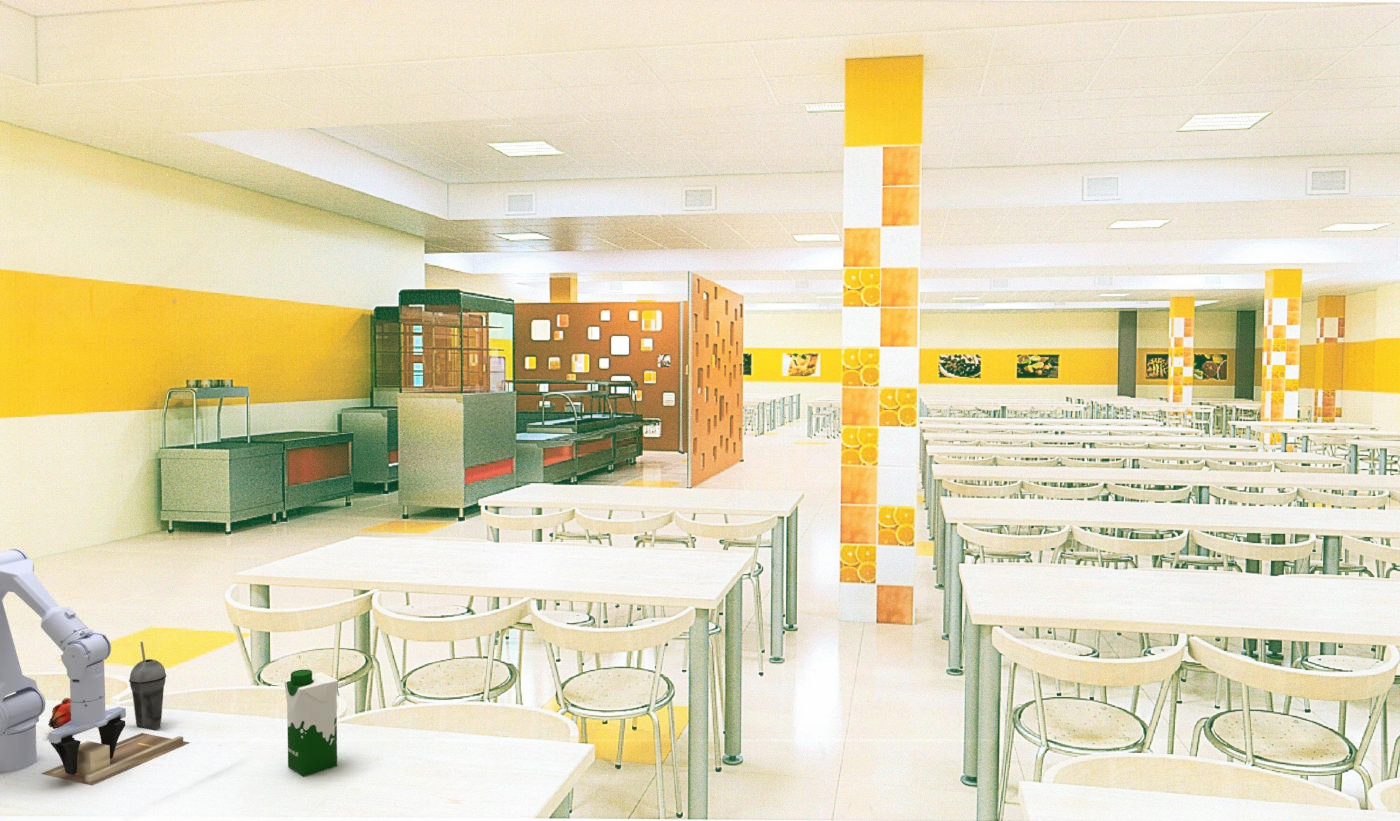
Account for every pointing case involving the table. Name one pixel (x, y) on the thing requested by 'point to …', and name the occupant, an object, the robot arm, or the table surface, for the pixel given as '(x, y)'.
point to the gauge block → (92, 757)
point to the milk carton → (311, 722)
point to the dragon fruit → (61, 714)
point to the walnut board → (125, 757)
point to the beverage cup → (148, 692)
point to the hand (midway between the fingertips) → (89, 765)
